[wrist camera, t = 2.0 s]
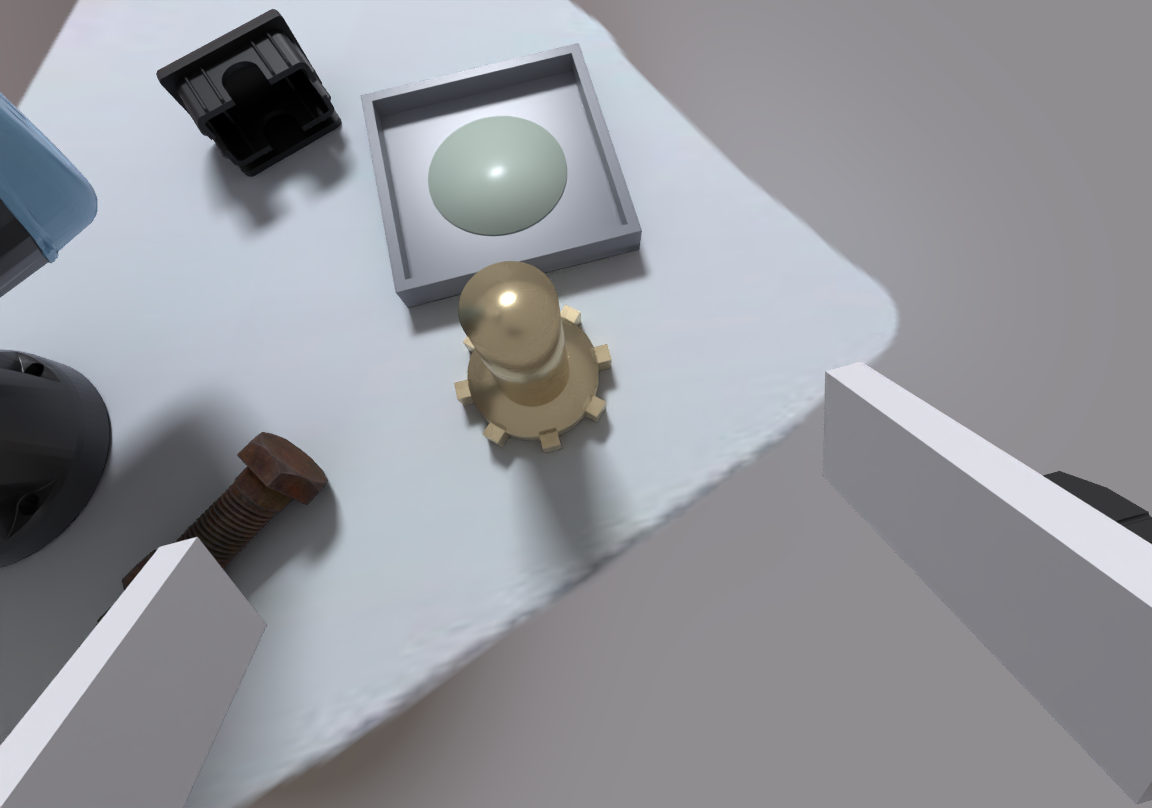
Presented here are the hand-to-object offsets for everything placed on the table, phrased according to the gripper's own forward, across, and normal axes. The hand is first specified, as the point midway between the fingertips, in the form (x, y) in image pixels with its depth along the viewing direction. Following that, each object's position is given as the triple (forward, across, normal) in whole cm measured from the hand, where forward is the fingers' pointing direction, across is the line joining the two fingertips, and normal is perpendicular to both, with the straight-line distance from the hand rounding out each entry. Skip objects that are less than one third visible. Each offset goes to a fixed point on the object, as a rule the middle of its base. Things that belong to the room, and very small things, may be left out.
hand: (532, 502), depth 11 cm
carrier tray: (+36, +1, +3) cm, 37 cm away
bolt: (+21, -23, -13) cm, 34 cm away
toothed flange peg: (+25, 0, -9) cm, 26 cm away
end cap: (+44, -16, +11) cm, 49 cm away
